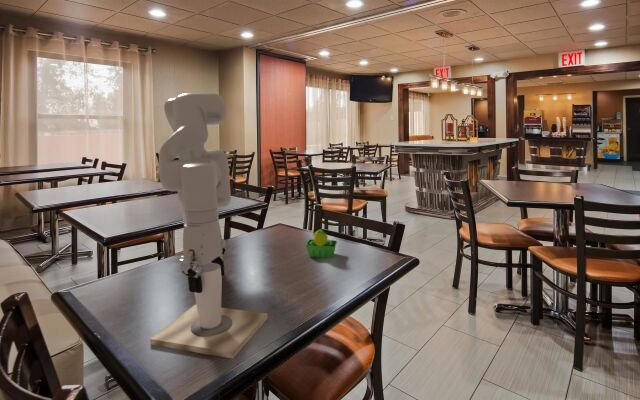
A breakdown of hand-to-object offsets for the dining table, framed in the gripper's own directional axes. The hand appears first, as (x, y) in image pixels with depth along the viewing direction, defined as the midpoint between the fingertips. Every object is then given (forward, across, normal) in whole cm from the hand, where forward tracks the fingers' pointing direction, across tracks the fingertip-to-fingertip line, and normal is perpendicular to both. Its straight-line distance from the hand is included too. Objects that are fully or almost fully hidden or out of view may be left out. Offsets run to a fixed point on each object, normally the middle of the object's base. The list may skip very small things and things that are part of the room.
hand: (207, 283), depth 93 cm
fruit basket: (+14, -58, +12) cm, 61 cm away
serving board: (+13, +1, 0) cm, 13 cm away
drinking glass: (+11, +1, 0) cm, 11 cm away
